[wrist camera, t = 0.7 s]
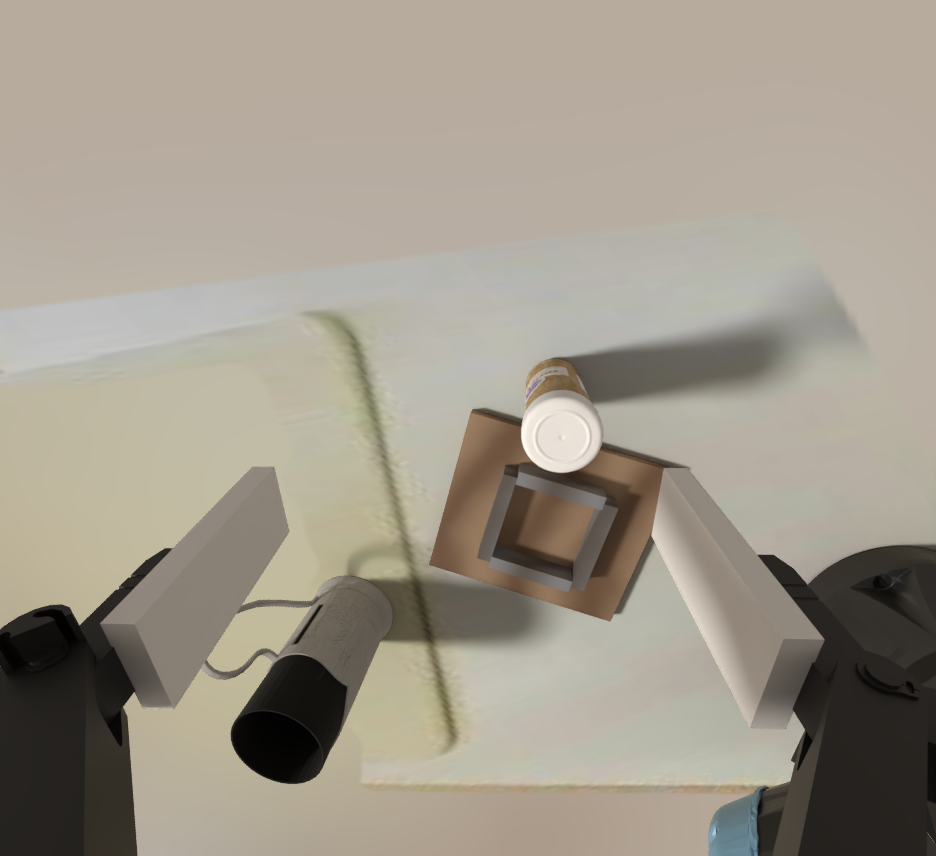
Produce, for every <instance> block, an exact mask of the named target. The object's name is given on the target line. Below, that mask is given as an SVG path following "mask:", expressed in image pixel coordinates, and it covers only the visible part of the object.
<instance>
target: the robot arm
mask: <svg viewBox="0 0 936 856" xmlns="http://www.w3.org/2000/svg"><path fill="white" fill-rule="evenodd" d="M288 533H289V528H288V524H287V519H286V516H285V511H284V507H283V503H282V499H281V494H280V490H279V485H278V481H277V477H276V473H275V468H274V467H252V468H251V469H250V470H249V471H248V472H247V473H246V474H245V475H244V476H243V477H242V478H241V479H240V480H239V481H238V482H237V483H236V484H235V485H234V486H233V487H232V488H231V489H230V490H229V491H228V492H227V493H226V494H225V496H224V497H223V498H222V499H221V500H220V501H219V502H218V503H217V504H216V505H215V506H214V507H213V508H212V509H211V510H210V511H209V512H208V513H207V514H206V515H205V516H204V517H203V518H202V519H201V520H200V521H199V522H198V523H197V524H196V526H194V527H193V528H192V529H191V530H190V531H189V532H188V534H187V535H186V536H185V537H184V538H183V539H182V540H181V541H180V542H179V543H178V544H177V545H176V546H175V547H174V548H171V549H170V548H165V549H163V550H162V551H160V552H159V553H157V554H156V555H154V556H152V557H151V558H149V559H148V560H146V561H145V562H144V563H143V564H142V565H141V566H140V567H139V568H138V569H137V570H136V571H135V572H134V573H133V574H132V575H131V578H128V579H127V580H126V581H125V582H124V583H122V584H121V586H119V590H115V591H114V592H113V593H112V594H111V595H110V596H109V597H108V598H107V599H106V600H105V601H104V602H103V603H102V604H101V605H100V606H99V607H98V608H97V609H96V610H95V611H94V612H93V613H92V614H91V615H90V616H89V617H88V618H87V619H86V620H85V621H84V622H83V623H82V624H81V625H80V626H79V624H78V622H77V620H76V618H75V617H74V615H73V613H72V611H71V609H70V607H67V606H64V605H49V606H46V607H42V608H38V609H35V610H32V611H30V612H28V613H26V614H24V615H21V616H19V617H17V618H16V619H15V620H13V621H11V622H10V623H8V624H7V625H5V626H4V627H2V629H0V856H137V844H136V829H135V818H134V817H135V816H134V802H133V789H132V774H131V761H130V747H129V734H128V720H127V715H126V713H125V710H124V708H123V706H124V705H125V703H126V702H127V701H128V699H129V698H130V697H131V695H132V694H133V693H134V692H135V694H136V696H137V698H138V700H139V702H140V704H141V706H142V708H149V709H174V708H175V707H176V706H177V704H178V702H179V701H180V699H181V698H182V696H183V695H184V693H185V692H186V690H187V689H188V687H189V686H190V684H191V682H192V681H193V679H194V678H195V676H196V675H197V673H198V672H199V670H200V669H201V667H202V666H203V664H204V662H205V661H206V659H207V658H208V656H209V655H210V653H211V652H212V650H213V649H214V647H215V645H216V644H217V642H218V641H219V639H220V638H221V636H222V635H223V633H224V632H225V630H226V628H227V627H228V626H229V624H230V622H231V621H232V619H233V618H234V616H235V615H236V613H237V612H238V610H239V609H240V607H241V606H242V604H243V602H244V601H245V599H246V598H247V596H248V595H249V593H250V591H251V590H252V589H253V587H254V585H255V584H256V582H257V581H258V579H259V578H260V576H261V575H262V573H263V572H264V570H265V568H266V567H267V566H268V564H269V562H270V561H271V559H272V558H273V556H274V555H275V553H276V552H277V550H278V549H279V547H280V545H281V544H282V542H283V541H284V539H285V538H286V536H287V534H288ZM651 536H652V538H653V540H654V542H655V544H656V546H657V548H658V550H659V552H660V553H661V555H662V557H663V559H664V561H665V563H666V565H667V567H668V569H669V571H670V573H671V575H672V577H673V579H674V581H675V583H676V585H677V587H678V589H679V591H680V593H681V595H682V597H683V599H684V600H685V602H686V604H687V606H688V608H689V610H690V612H691V614H692V616H693V618H694V620H695V622H696V624H697V626H698V628H699V630H700V632H701V634H702V636H703V638H704V640H705V642H706V644H707V645H708V647H709V649H710V651H711V653H712V655H713V657H714V659H715V661H716V663H717V665H718V667H719V669H720V671H721V673H722V675H723V677H724V679H725V681H726V683H727V685H728V687H729V689H730V690H731V692H732V694H733V696H734V698H735V700H736V702H737V704H738V706H739V708H740V710H741V712H742V714H743V716H744V718H745V720H746V722H747V724H748V726H749V728H767V729H786V727H787V725H788V723H789V720H790V718H791V716H792V714H793V711H794V712H795V714H796V716H797V717H798V719H799V720H800V722H801V724H802V725H803V727H804V728H805V731H804V733H803V736H802V738H801V740H800V742H799V744H798V746H797V748H796V751H795V753H794V755H793V757H792V759H791V761H793V762H794V763H795V765H794V769H793V773H792V777H791V781H790V782H787V783H784V784H781V785H778V786H775V787H771V788H769V787H766V786H761V787H758V788H757V789H756V790H755V792H754V793H753V794H750V795H748V796H745V797H743V798H741V799H738V800H736V801H733V802H731V803H728V804H726V805H724V806H722V807H721V808H719V809H718V810H717V811H716V812H715V814H714V816H713V818H712V820H711V823H710V828H709V856H936V845H935V844H936V551H933V550H929V549H924V548H916V547H888V548H880V549H874V550H870V551H866V552H862V553H859V554H856V555H853V556H851V557H848V558H846V559H844V560H841V561H839V562H837V563H836V564H834V565H832V566H830V567H829V568H827V569H826V570H824V571H823V572H822V573H820V574H819V575H818V576H817V577H815V578H814V579H813V580H812V581H811V582H810V583H809V584H808V585H807V584H806V582H805V581H804V580H803V579H802V578H801V577H800V576H799V574H798V573H797V572H796V571H795V570H794V569H793V568H792V567H790V566H789V565H787V564H786V563H785V562H783V561H782V560H780V559H779V558H777V557H776V556H774V555H757V554H756V553H755V552H754V550H753V549H752V548H751V547H750V545H749V544H748V543H747V542H746V540H745V539H744V538H743V537H742V535H741V534H740V533H739V532H738V530H737V529H736V528H735V527H734V525H733V524H732V523H731V522H730V520H729V519H728V518H727V517H726V515H725V514H724V513H723V512H722V510H721V509H720V508H719V507H718V505H717V504H716V503H715V502H714V500H713V499H712V498H711V497H710V495H709V494H708V493H707V492H706V490H705V489H704V488H703V487H702V485H701V484H700V483H699V482H698V480H697V479H696V478H695V477H694V475H693V474H692V473H691V472H690V470H689V469H688V468H664V470H663V475H662V481H661V486H660V492H659V497H658V503H657V508H656V513H655V519H654V524H653V530H652V535H651ZM927 832H928V833H927ZM928 834H929V835H930V836H931V838H932V839H933V840H932V839H931V838H930V836H929V835H928ZM933 841H934V842H935V843H934V842H933Z"/></svg>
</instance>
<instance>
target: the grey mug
mask: <svg viewBox="0 0 936 856" xmlns="http://www.w3.org/2000/svg"><path fill="white" fill-rule="evenodd" d="M265 606H281V607H297V608H299V607H309V606H312V607H311V608H310V610H309V611H308V613H307V614H306V616H305V617H304V619H303V620H302V621H301V623H300V624H299V626H298V627H297V628H296V630H295V632H294V633H293V634H292V636H291V637H290V639H289V640H288V641H287V643H286V644H285V646H284V647H283V649H282V650H281V651H280V653H279V654H278V655H277V654H276V653H275V652H273V651H271V650H270V649H266V648H265V649H261V650H258V651H257V652H256V653H255V654H254V655H253V656H252V657H251V658H250V659H249V660H248V661H247V662H246V664H244V665H243V666H242V667H240V668H239V669H237V670H235V671H231V672H221V671H218V670H216V669H214V668H213V667H212V666H211V665H210V664H209V663H208V662H207V660H206V661H205V662H204V664H203V666H202V667H201V669H202V670H203V671H204V672H205V673H206V674H207V675H208V676H210V677H212V678H215V679H222V680H226V679H230V678H234V677H236V676H238V675H239V674H241V673H243V672H244V671H245V670H246V669H247V668H248V667H249V666H250V665H251V664H252V663H253V661H254V660H255V659H256V658H257V657H258V656H259V655H263V656H266V657H267V658H269V659H270V660H271V661H273V663H272V664H271V666H270V668H269V670H268V673H267V675H266V677H265V678H264V680H263V681H262V683H261V684H260V685H259V687H258V688H257V690H256V691H255V693H254V694H253V696H252V697H251V699H250V700H249V702H248V703H247V704H246V706H245V707H244V709H243V710H242V712H241V713H240V715H239V716H238V718H237V719H236V720H235V722H234V724H233V726H232V729H231V741H232V745H233V747H234V750H235V751H236V753H237V755H238V756H239V758H241V760H242V761H243V762H244V763H245V764H246V765H247V766H248V767H249V768H250V769H252V770H253V771H255V772H256V773H258V774H259V775H261V776H263V777H265V778H267V779H270V780H273V781H277V782H280V783H287V784H298V783H304V782H307V781H310V780H311V779H313V778H315V777H316V776H317V775H318V774H319V773H320V771H321V769H322V768H323V765H324V763H325V761H326V759H327V756H328V754H329V752H330V750H331V748H332V747H333V745H334V743H335V742H336V740H337V738H338V736H339V735H340V732H341V730H342V727H343V726H344V723H345V721H346V719H347V716H348V714H349V712H350V709H351V707H352V705H353V703H354V700H355V698H356V696H357V693H358V691H359V689H360V687H361V684H362V682H363V680H364V677H365V675H366V673H367V670H368V668H369V666H370V664H371V661H372V659H373V657H374V654H375V652H376V650H377V648H378V645H379V643H380V641H381V639H382V638H383V637H384V636H385V635H386V634H387V633H388V632H389V630H390V628H391V626H392V623H393V611H392V607H391V604H390V602H389V600H388V599H387V597H386V596H385V595H384V593H383V592H382V591H381V590H380V589H379V588H378V587H376V586H375V585H374V584H372V583H370V582H368V581H366V580H364V579H361V578H358V577H353V576H339V577H335V578H332V579H330V580H328V581H326V582H325V583H324V584H322V585H321V587H320V588H319V589H318V591H317V593H316V596H315V598H314V599H313V600H312V601H288V600H258V601H254V602H251V603H248V604H245V605H243V606H241V607H240V609H239V610H238V612H237V613H240V612H242V611H245V610H248V609H252V608H255V607H265ZM237 613H236V614H237Z"/></svg>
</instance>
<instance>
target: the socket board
mask: <svg viewBox="0 0 936 856" xmlns="http://www.w3.org/2000/svg"><path fill="white" fill-rule="evenodd" d="M521 427H522V424H520V423H516V422H513V421H510V420H506V419H503V418H499V417H496V416H492V415H489V414H486V413H482V412H479V411H475V410H472V411H471V414H470V417H469V421H468V425H467V428H466V432H465V436H464V439H463V443H462V447H461V450H460V454H459V458H458V461H457V465H456V469H455V472H454V476H453V480H452V483H451V487H450V491H449V494H448V498H447V502H446V505H445V509H444V513H443V516H442V520H441V524H440V527H439V531H438V535H437V538H436V542H435V546H434V549H433V553H432V557H431V560H430V564H429V565H431V566H435V567H438V568H441V569H444V570H447V571H451V572H454V573H457V574H460V575H463V576H467V577H470V578H473V579H476V580H479V581H482V582H486V583H489V584H492V585H495V586H498V587H502V588H505V589H508V590H511V591H514V592H518V593H521V594H524V595H527V596H530V597H533V598H537V599H540V600H543V601H546V602H549V603H553V604H556V605H559V606H562V607H565V608H569V609H572V610H575V611H578V612H581V613H585V614H588V615H591V616H594V617H597V618H600V619H604V620H607V621H611V619H612V617H613V615H614V613H615V610H616V608H617V606H618V604H619V602H620V600H621V597H622V595H623V593H624V591H625V589H626V587H627V584H628V582H629V580H630V578H631V576H632V574H633V571H634V569H635V567H636V565H637V563H638V561H639V558H640V556H641V554H642V552H643V550H644V548H645V546H646V543H647V541H648V539H649V537H650V535H651V533H652V530H653V524H654V519H655V513H656V508H657V503H658V497H659V492H660V486H661V481H662V475H663V470H664V468H670V467H667V466H664V465H660V464H657V463H653V462H650V461H647V460H643V459H640V458H636V457H633V456H629V455H626V454H623V453H619V452H616V451H612V450H609V449H605V448H602V447H601V448H600V450H599V452H598V454H597V455H596V457H595V458H594V459H593V460H592V461H591V462H590V463H589V464H587V465H586V466H584V467H583V468H581V469H578V470H576V471H572V472H567V473H557V472H551V471H548V470H545V469H543V468H541V467H539V466H538V465H537V464H535V463H534V462H533V461H532V460H531V459H530V458H529V456H528V455H527V453H526V452H525V450H524V447H523V444H522V439H521Z"/></svg>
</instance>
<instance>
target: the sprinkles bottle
mask: <svg viewBox="0 0 936 856" xmlns="http://www.w3.org/2000/svg"><path fill="white" fill-rule="evenodd" d="M525 407H526V412H525V414H524V417H523V420H522V427H521V439H522V444H523V447H524V450H525V452H526V453H527V455H528V456H529V458H530V459H531V460H532V461H533V462H534V463H535V464H537V465H538V466H539V467H541V468H543V469H545V470H548V471H551V472H557V473H567V472H572V471H576V470H578V469H581V468H583V467H584V466H586V465H587V464H589V463H590V462H591V461H592V460H593V459H594V458H595V457H596V455H597V454H598V452H599V450H600V448H601V445H602V442H603V426H602V422H601V419H600V416H599V414H598V412H597V410H596V408H595V407H594V405H593V404H592V403H591V401H590V398H589V396H588V394H587V392H586V390H585V387H584V385H583V383H582V381H581V379H580V376H579V374H578V372H577V370H576V369H575V368H574V367H573V366H572V365H571V364H570V363H569V362H567V361H564V360H560V359H549V360H545V361H543V362H541V363H539V364H538V365H536V366H535V367H534V368H533V369H532V370H531V372H530V373H529V376H528V378H527V383H526V401H525Z"/></svg>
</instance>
